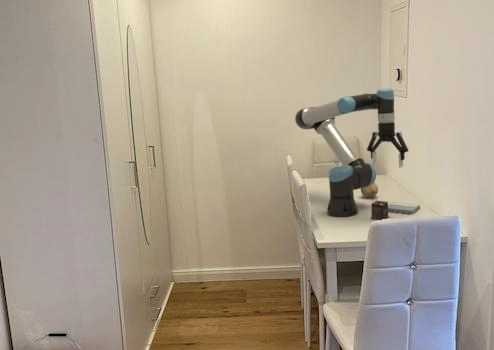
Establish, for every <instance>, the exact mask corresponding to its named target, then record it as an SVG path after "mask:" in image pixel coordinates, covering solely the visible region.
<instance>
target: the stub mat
mask: <svg viewBox="0 0 494 350" xmlns="http://www.w3.org/2000/svg"><path fill="white" fill-rule="evenodd" d="M387 218H388V219H389V218H390V215H388V217H386V218H385V219H387ZM388 219H387V220H388ZM370 220H376V221H382V219H374V218H372V217H370Z"/></svg>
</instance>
